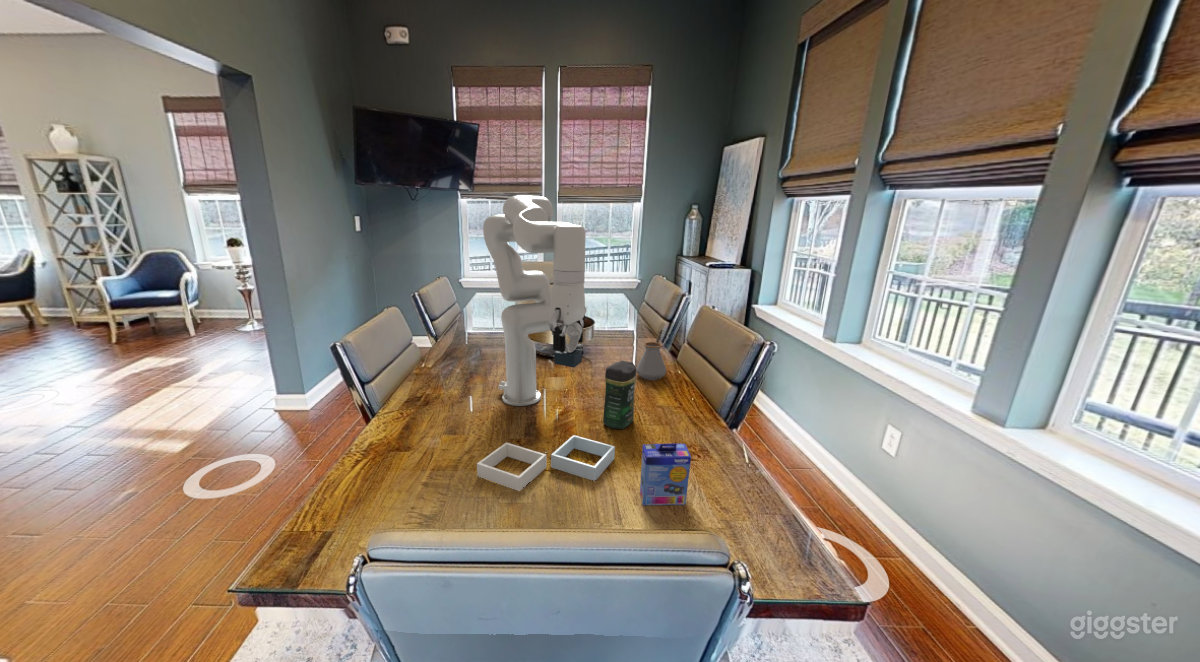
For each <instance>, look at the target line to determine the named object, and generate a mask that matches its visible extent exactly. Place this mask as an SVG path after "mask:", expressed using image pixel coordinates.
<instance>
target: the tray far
mask: <svg viewBox="0 0 1200 662" xmlns="http://www.w3.org/2000/svg"><path fill="white" fill-rule="evenodd" d="M574 449H575V450H579V451H581V452H585V453H588V454H592V455H596V456H599V457H601V458H600V459H599V460H598V461H597V462H596V463H595V464H594V465H593V464H592V465H591V464H589V463H585V462H583V461H578V460H575V459H572V458H569V457H567V456H568V455H569V454H570V453H571V452H572V451H574ZM615 449H616V446H614V445H611V444H608V443H604V442H601V441H596V440H594V439H593V440H592V439H589V438H586V437H581V436H579V435H576V434H575V435H574V434H573V435H572V436H571V437H569V438H568V439H567V440H566V441H565V442H563V444H562V445H560V446H559V447H558V448H557V449H556V450H555V451H553V452H552V453H551V454H550V468H552V469H555V470H559V471H562V472H564V473H568V474H571V475H573V476H577V477H580V478H584V479H587V480H590V481H592V480H593V482H596V481H597V480H598V478H599V477H601V475H602V473H603V472H605V470H606V469H607V468H608V467H609V466H610V465H611V463H612V462H613V461H614V460H615V455H616V454H615V451H616V450H615ZM595 480H596V481H595Z"/></svg>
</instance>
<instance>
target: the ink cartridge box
mask: <svg viewBox="0 0 1200 662" xmlns="http://www.w3.org/2000/svg"><path fill="white" fill-rule="evenodd" d="M691 461H692V455H691V454H690V452H689V450H688V446H687V444H685V443H674V442H673V443H649V444H642V450H641V467H640V468H641V470H640V481H639V483H640V484H639V485H640V486H639V493H640V494H639V495H640V499H641V504H642V506H681V505H682V506H684V505H686V504H687V495H688V489H689V488H688V485H689V478H690V477H689V476H690V468H691V463H692V462H691Z"/></svg>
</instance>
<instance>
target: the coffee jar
mask: <svg viewBox="0 0 1200 662" xmlns="http://www.w3.org/2000/svg"><path fill="white" fill-rule="evenodd" d="M636 368H637V366H636V365H635V363H634V362H631V361H626V360H620V361H617V362H615V363H612V364H611V365H608V366H607V367H606V369H605V373H604V374H605V375H604V380H605V391H604V392H605V393H604V406H603V415H602V416H603V418H602V422H603V424H604V425H605V426H606V427H608V428H611V429H614V430H615V429H618V430H624V429H625V428H627V427H628V426H630V425H631V424H632V423H633V421H634V416H635V386H636V384H635V383H636V380H637V371H636Z"/></svg>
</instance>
